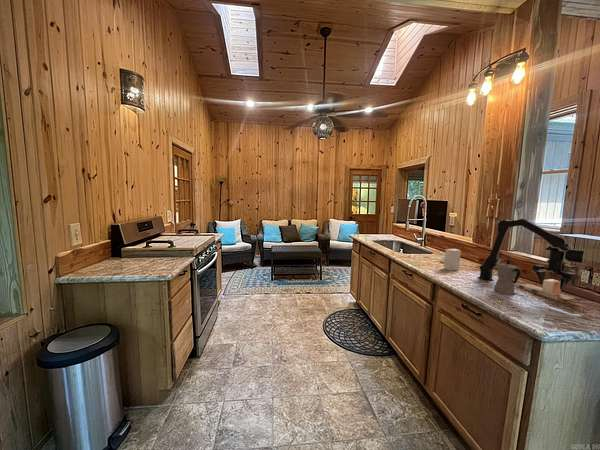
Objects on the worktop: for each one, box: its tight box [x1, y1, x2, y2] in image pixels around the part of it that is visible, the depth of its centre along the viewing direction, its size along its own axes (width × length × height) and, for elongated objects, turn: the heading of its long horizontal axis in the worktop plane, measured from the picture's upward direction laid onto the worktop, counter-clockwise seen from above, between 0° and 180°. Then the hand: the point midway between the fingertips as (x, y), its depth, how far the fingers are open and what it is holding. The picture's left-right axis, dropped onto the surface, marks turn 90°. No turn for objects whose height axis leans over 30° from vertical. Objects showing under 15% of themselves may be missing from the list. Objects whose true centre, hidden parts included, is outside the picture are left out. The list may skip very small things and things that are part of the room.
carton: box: [541, 278, 562, 295], centre depth 147 cm, size 4×6×7 cm
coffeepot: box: [493, 260, 521, 296], centre depth 147 cm, size 15×9×18 cm, turn 179°
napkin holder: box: [440, 255, 445, 263], centre depth 212 cm, size 15×11×6 cm
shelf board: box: [514, 282, 574, 301], centre depth 149 cm, size 14×22×3 cm, turn 14°
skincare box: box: [443, 248, 462, 271], centre depth 192 cm, size 8×6×15 cm
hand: (551, 286), depth 147 cm, fingers open, 9 cm apart
